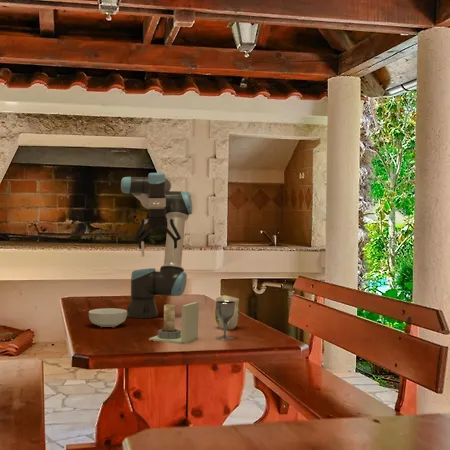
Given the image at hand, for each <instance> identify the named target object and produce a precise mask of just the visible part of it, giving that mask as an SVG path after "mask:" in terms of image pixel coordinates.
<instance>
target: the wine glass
mask: <svg viewBox="0 0 450 450" xmlns="http://www.w3.org/2000/svg"><path fill="white" fill-rule="evenodd" d="M215 309H216V312H217V316H218V317H219V318H220V320H221V321H222V322H223V325H224V329H223V335H222V336H217V337H215V339H216V340H221V341H232V340H234V337H231V336H228V335H227V330H226V326H227V323H228V321H229V320H230V319H231V318H232V317H233V315H234V311H235V302H234V301H216V300H215Z"/></svg>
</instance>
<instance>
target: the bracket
mask: <svg viewBox="0 0 450 450" xmlns="http://www.w3.org/2000/svg"><path fill="white" fill-rule="evenodd" d="M199 304H200V303H199V302H198V301H194V302H190V303H187V304H183V305H181V329H178V328H175V332H164V328H161V329H158V330H157V335H155V336H151V337H149V338H148V341H151V340H153V341H154V342H160V343H161V342H162V343H163V342H164V343H173V344H180V345H181V344H182V345H186V344H188V343H191V342H194V341H196V340H199ZM153 341H152V342H153Z"/></svg>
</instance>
